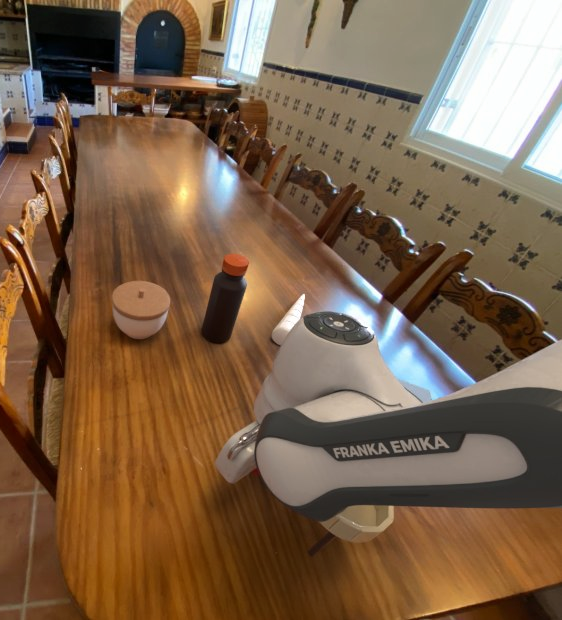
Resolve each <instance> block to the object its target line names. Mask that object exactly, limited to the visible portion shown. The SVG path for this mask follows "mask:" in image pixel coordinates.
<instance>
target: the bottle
mask: <svg viewBox="0 0 562 620" xmlns="http://www.w3.org/2000/svg"><path fill="white" fill-rule="evenodd" d="M249 265H250V261H249V259H248V258H247V257H246V256H244V255H242V254H238V253H228V254H226V255H224V256H223V260H222V264H221V271H219V272H218V273H216V274H215V275H214V278H213V281H212V285H211V286H212V287H211V288H210V293H209V298H208V300H207V301H208V302H207V306H206V310H205V314H204V318H203V322H202V327H201V334H202V336H203V337H204V338H205V339H206V340H207V341H209V342H211V343H214V344H225V343H227V342H228V341H229V340H230V339H231V337H232V335H233V331H234V327H235V325H236V321H237V319H238V316H239V313H240V309H241V306H242V302H243V300H244V296H245V293H246V290H247V287H248V282H247V280H246V278H245V276H246V274H247V271H248V268H249Z"/></svg>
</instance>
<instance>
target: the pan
mask: <svg viewBox="0 0 562 620" xmlns="http://www.w3.org/2000/svg"><path fill="white" fill-rule="evenodd" d="M394 512H395V506H381V505H356V506H350V507H347V508H346V509H345V510H344V511H343V512H341V513H340V514H338V515H336V516H334V517H333V518H331V519H329V520H327V521H324V522H319V524H320V525H321V526H322V527H323V528H325V530H327V532H326V533H325V534H323V536H322V537H320V539H318V540H317V541H316V542H315V543H314V544H313V545H312V546H311V547H310V548H308V549H307V555H308V556H309V557H311V558H314V557H315V556H316V555H318V554H319V552H321V551H322V550H323V549H324V548H325V547H326V546H327V545H329V544H330V543H331V542H333V540H334V539H336V538H339V539H341V540H343V541H347V542H350V543H356V544H359V543H361V544H362V543H367V542H370V541H372V540H374V539H376V537H378V536H379V535H381V534H382V533H383V532H384V531H385V530H386V529H387V528H389V526H391V525H392V524H393V523H394V520H395V513H394Z"/></svg>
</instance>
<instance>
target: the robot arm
mask: <svg viewBox="0 0 562 620" xmlns="http://www.w3.org/2000/svg"><path fill="white" fill-rule="evenodd" d="M398 379H399V378H397V376H395V374H394V373H393V372H392V370H391V369H390V367H389V366H388V364H387V363H386V361H385V360H384V357H383V355H382V353H381V350H380V347H379V341H378V337H377V335H376V333H375V331H374V330H373V329H372V328H371V327H370V326H369V325H368V324H366V323H365V322H364V321H362V320H361V319H359V318H356V317H355V316H352V315H350V314H347V313H341V312H337V311H333V310H332V311H331V310H329V311H328V310H327V311H317V312H313V313H309V314H306V315H303V316H301V317H300V320H298V321H297V323H296V324H295V325H294V326H293V327H292V328H291V330H290V331H289V333H288V334H287V336H286V337H285V339H284V341H283V343H282V345H279V348H278V351H277V352H276V354H275V357H274V359H273V362H272V370H271V371H270V372H269V373H268V374H267V376H265V378H264V381H263V383H262V385H261V387H260V389H259V391H258V393H257V395H256V398H255V399H254V402H253V414H254V417H255V419H256V420H254V421H252V422H251V423H250V424H247V425H246V426H244V427H242V428H241V429H239V430H238V431H237V432H235V433H234V434H232V435H231V436H230V437H229V438H228V439H227V440H226V442H225V443H224V445H223V447H222V448H221V450H220V451H219V453H218V455H217V457H216V459H215V462H214V466H215V468H216V469H217V471H218V472H219V474H220V475H221V476H222V478H223V479H224V480H225V481H226V482H227V483H229V484H232V485H234V484H236V483H237V482H239V481H240V480H241V479H243V478H244V477H247V476H249V475H250V474H251V473H252V472H253V470H254V469H256V468H257V470H258V473H259V475H258V476H259V477H260V479H261V481H262V483H263V485H264V486H265V487H266V489H267V490H268V492H269V493H270V494H271V495H272V496H273V498H275V499H276V500H277V501H278V502H279V503H280V504H282V505H283V506H284V507H287V508H288V509H290V510H291V511H292V512H295V513H297V514H299V515H300V516H303V517H305V518H307V519H309V520H312V521H315V522H317V523H318V522H319V523H320V522H324V521H327V520H329V519H331V518H333V517H334V516H336V515H338V514H340V513H341V512H343V511H344V510H345V509H346V508H347V507H350V506H356V505H381V506H394V507H417V508H418V507H421V508H449V509H451V508H452V509H453V508H454V509H507V510H508V509H562V339H559V340H557V341H556V342H554V343H552V344H550V345H547V346H546V347H544V348H542V349H540V350H538V351H536V352H534V353H532V354H531V355H528V356H527V357H524V358H523V359H521V360H519V361H516V362H515V363H512V365H510V366H507V367H506V368H504V369H501V370H500V371H498V372H496V373H494V374H492V375H490V376H488V377H486V378H483V379H481V380H479V381H477V382H475V383H473V384H470V385H468V386H465V387H464V388H461V389H458V390H456V391H454V392H452V393H449V394H446V395H444V396H441V397H438V398H435V399H431V401H428V402H425V403H423V402H422V401H421V400H420V399H419V398H418V397H417V396H415V395H414V394H413V393H412V392H410V391H409V390H408V389H406V388H405V387H404V386H402V384H401V383H400V382H399V381H398Z"/></svg>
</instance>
